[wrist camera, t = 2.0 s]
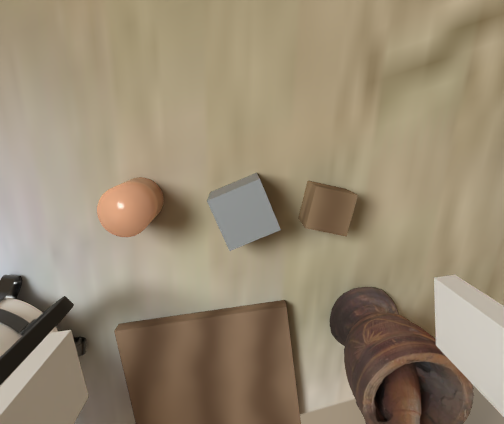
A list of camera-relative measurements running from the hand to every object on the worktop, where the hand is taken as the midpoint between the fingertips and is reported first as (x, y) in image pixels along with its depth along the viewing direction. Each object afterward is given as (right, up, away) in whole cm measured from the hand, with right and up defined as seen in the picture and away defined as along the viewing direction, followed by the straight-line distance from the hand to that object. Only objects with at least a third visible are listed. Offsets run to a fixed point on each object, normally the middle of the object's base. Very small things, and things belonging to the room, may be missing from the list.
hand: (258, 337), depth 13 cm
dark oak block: (+7, +5, +25) cm, 26 cm away
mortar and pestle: (+12, -9, +28) cm, 32 cm away
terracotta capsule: (-11, +6, +24) cm, 27 cm away
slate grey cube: (-1, +5, +24) cm, 25 cm away
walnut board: (-5, -14, +28) cm, 32 cm away
